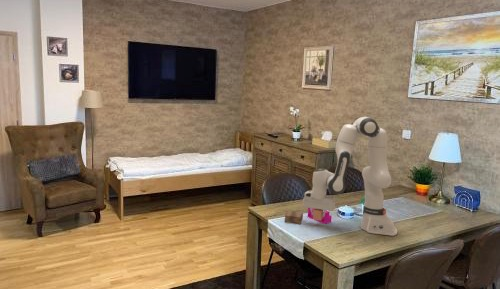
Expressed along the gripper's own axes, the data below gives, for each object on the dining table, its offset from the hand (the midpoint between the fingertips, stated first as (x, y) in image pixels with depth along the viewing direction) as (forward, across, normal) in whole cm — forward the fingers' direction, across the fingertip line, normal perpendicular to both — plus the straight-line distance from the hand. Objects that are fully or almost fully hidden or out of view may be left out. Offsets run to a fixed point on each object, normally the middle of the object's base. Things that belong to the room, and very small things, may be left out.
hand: (318, 215), depth 240 cm
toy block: (+7, +2, -11) cm, 13 cm away
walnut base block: (+6, +16, 0) cm, 17 cm away
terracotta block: (+2, 0, 0) cm, 2 cm away
